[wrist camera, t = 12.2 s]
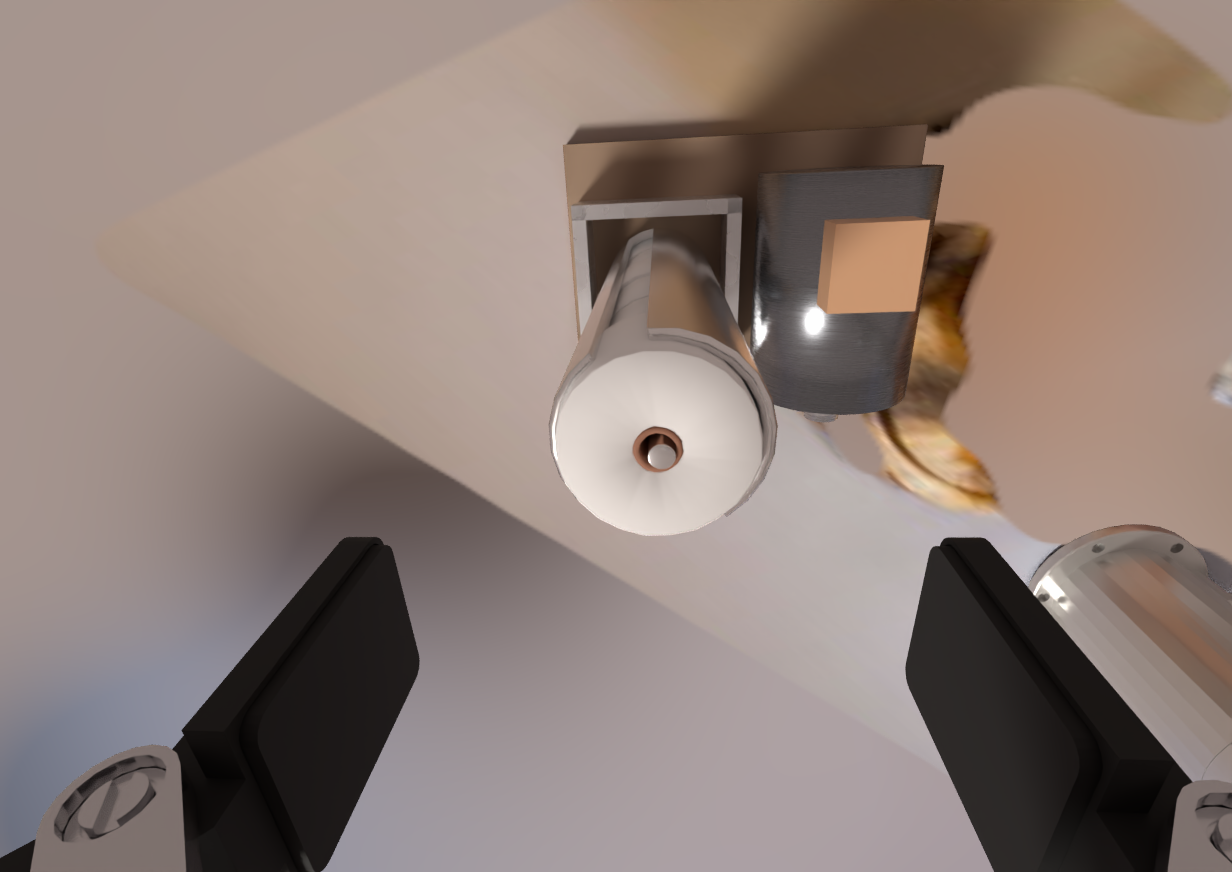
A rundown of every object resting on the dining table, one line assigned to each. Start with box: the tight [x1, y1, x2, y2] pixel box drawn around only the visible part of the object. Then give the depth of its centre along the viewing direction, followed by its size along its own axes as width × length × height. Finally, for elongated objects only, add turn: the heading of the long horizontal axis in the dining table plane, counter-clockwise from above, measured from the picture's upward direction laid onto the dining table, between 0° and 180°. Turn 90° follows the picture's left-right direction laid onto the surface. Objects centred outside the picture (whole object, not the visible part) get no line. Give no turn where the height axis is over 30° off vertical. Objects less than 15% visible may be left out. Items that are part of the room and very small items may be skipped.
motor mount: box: [563, 124, 944, 422], centre depth 34 cm, size 21×16×12 cm
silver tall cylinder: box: [549, 228, 778, 536], centre depth 27 cm, size 6×6×25 cm
